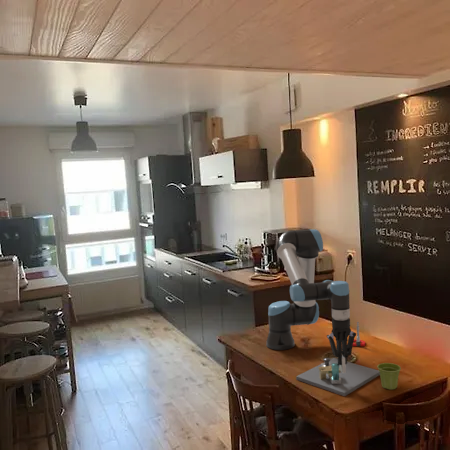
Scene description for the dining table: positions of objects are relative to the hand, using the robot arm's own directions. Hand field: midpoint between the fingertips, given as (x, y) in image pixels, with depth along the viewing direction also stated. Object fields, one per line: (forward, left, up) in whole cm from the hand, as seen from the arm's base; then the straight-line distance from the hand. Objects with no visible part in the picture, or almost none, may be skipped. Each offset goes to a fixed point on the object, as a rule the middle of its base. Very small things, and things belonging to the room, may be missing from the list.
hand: (342, 371), depth 203 cm
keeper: (-7, +1, -5) cm, 9 cm away
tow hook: (-23, +49, -7) cm, 55 cm away
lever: (-8, +3, -4) cm, 10 cm away
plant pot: (+15, +12, -7) cm, 20 cm away
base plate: (-7, +7, -7) cm, 12 cm away
